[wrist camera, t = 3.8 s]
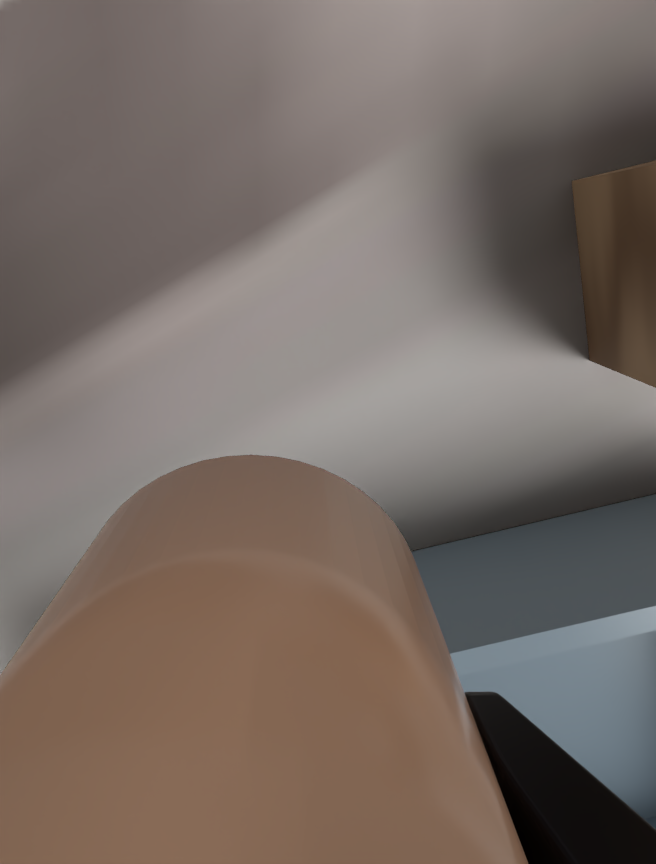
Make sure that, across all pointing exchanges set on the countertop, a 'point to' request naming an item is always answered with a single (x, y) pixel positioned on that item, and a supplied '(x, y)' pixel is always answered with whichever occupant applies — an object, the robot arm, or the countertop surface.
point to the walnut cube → (619, 267)
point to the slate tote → (563, 633)
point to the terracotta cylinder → (244, 690)
